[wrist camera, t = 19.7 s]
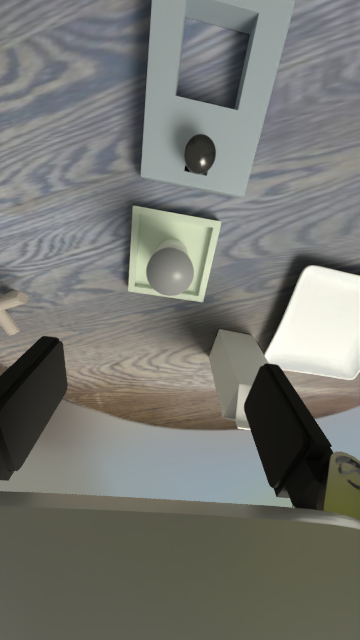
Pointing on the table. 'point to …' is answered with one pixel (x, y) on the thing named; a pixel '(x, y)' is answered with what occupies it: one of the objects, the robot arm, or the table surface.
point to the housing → (203, 118)
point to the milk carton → (235, 372)
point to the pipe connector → (7, 302)
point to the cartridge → (170, 268)
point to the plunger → (199, 154)
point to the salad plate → (320, 326)
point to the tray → (166, 225)
